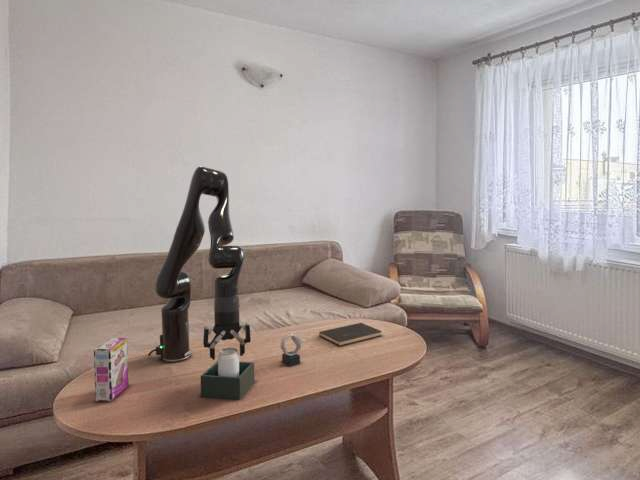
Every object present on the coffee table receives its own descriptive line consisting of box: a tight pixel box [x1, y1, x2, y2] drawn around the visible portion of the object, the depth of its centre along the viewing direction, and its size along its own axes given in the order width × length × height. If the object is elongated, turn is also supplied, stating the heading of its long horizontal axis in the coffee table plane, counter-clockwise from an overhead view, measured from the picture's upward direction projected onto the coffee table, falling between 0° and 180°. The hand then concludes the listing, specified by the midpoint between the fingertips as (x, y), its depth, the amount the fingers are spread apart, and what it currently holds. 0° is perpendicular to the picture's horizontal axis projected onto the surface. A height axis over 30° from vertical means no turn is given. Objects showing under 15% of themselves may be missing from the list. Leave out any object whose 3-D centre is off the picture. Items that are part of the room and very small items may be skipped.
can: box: [217, 347, 240, 377], centre depth 142 cm, size 6×6×12 cm
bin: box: [200, 360, 255, 400], centre depth 142 cm, size 13×13×7 cm
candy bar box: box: [93, 337, 129, 402], centre depth 136 cm, size 11×5×16 cm, turn 5°
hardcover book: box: [318, 322, 383, 347], centre depth 196 cm, size 16×23×2 cm
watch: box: [280, 333, 303, 367], centre depth 164 cm, size 6×8×11 cm
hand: (227, 357), depth 141 cm, fingers open, 8 cm apart
